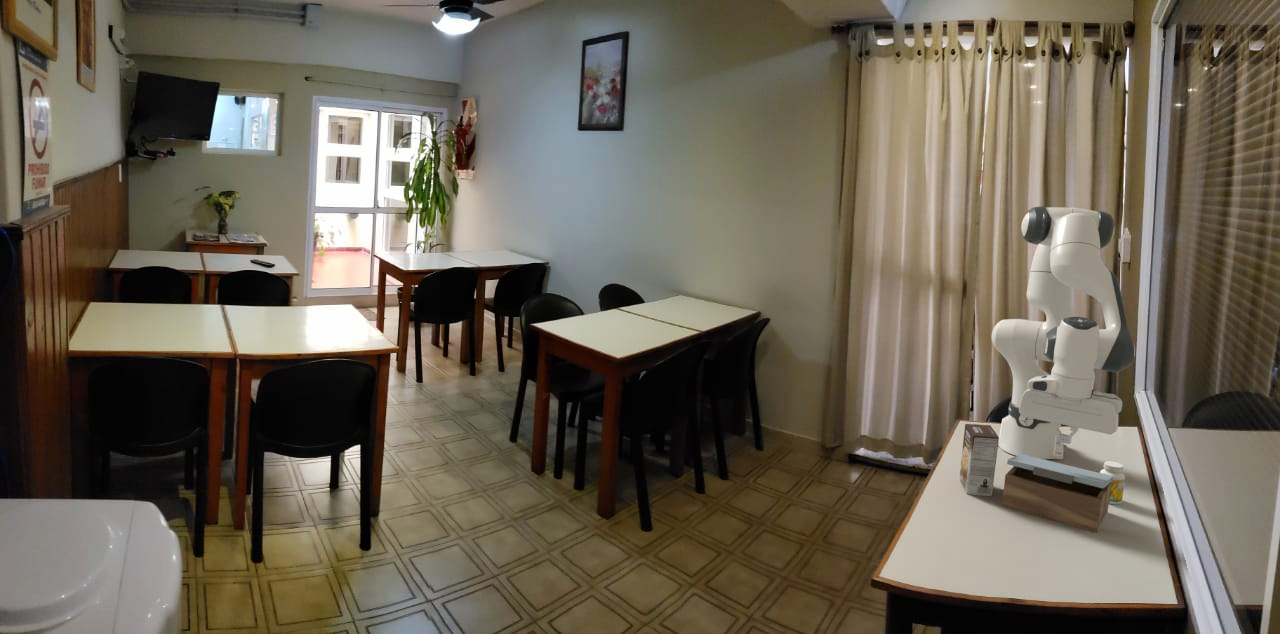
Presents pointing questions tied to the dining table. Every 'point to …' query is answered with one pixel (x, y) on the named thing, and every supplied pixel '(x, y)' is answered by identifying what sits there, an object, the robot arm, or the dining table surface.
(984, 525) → the dining table surface
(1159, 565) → the dining table surface
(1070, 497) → the walnut box
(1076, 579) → the dining table surface
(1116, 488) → the supplement bottle
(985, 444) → the coffee box
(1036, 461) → the lid
